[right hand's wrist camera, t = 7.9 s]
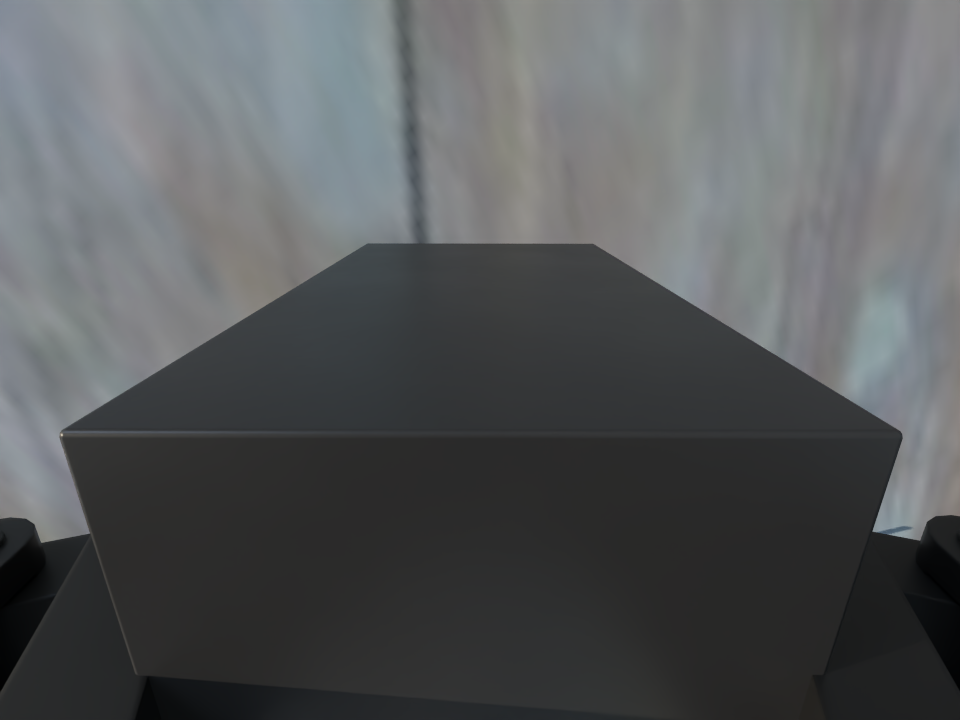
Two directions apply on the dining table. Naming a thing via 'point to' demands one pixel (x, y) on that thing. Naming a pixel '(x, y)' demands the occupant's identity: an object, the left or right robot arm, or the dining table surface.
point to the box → (480, 501)
